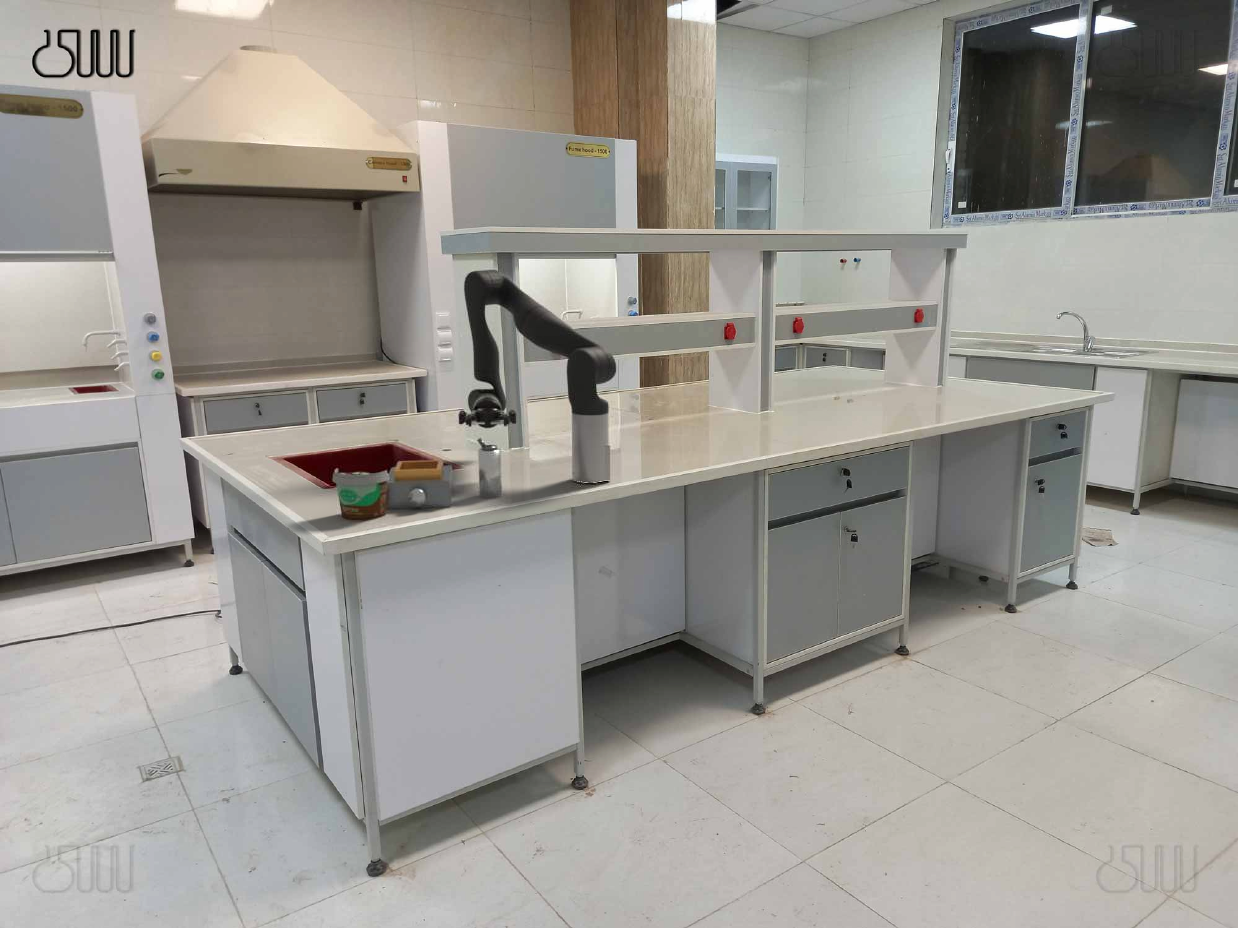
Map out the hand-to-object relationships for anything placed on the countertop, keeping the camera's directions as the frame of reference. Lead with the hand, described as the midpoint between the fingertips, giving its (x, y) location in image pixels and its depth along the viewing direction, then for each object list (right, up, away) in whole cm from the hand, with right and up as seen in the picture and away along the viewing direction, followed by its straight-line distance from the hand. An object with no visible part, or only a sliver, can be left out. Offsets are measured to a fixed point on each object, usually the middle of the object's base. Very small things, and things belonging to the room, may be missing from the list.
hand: (487, 422), depth 208 cm
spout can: (+2, -18, -8) cm, 19 cm away
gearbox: (-14, -19, -12) cm, 26 cm away
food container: (-23, -22, -26) cm, 41 cm away
